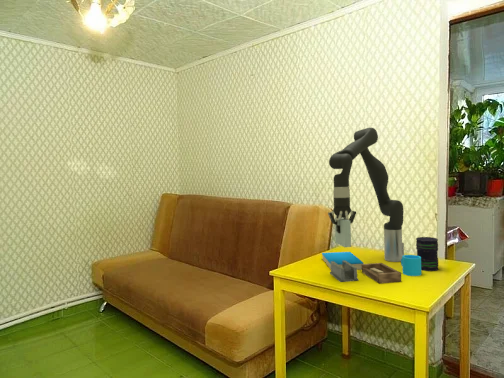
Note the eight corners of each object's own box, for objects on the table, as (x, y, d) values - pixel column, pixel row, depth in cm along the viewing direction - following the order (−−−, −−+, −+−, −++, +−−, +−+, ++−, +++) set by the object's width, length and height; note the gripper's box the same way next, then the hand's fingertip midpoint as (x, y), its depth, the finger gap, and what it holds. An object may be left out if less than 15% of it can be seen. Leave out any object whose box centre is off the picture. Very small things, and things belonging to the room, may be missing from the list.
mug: (425, 275, 166) (424, 257, 165) (409, 276, 164) (409, 259, 164) (408, 268, 178) (408, 252, 177) (394, 270, 176) (394, 253, 176)
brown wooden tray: (381, 270, 176) (381, 262, 175) (401, 281, 158) (401, 272, 158) (361, 272, 174) (361, 264, 174) (379, 283, 156) (378, 274, 156)
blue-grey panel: (341, 242, 173) (340, 217, 173) (351, 246, 161) (350, 220, 161) (335, 242, 173) (334, 218, 172) (344, 247, 161) (344, 221, 161)
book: (331, 264, 179) (321, 252, 204) (331, 272, 179) (321, 259, 204) (365, 262, 179) (350, 250, 204) (365, 270, 179) (351, 258, 204)
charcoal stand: (346, 272, 175) (346, 260, 175) (358, 280, 162) (357, 267, 161) (330, 273, 174) (329, 261, 174) (340, 282, 161) (340, 269, 160)
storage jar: (428, 265, 182) (428, 236, 182) (443, 269, 173) (442, 239, 172) (412, 267, 180) (411, 238, 179) (425, 272, 170) (425, 241, 170)
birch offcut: (374, 271, 169) (374, 267, 169) (383, 275, 163) (383, 271, 163) (369, 272, 169) (369, 268, 169) (379, 276, 162) (379, 272, 162)
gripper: (352, 195, 171) (353, 230, 172) (324, 196, 169) (325, 232, 170) (359, 196, 163) (360, 233, 164) (329, 197, 162) (331, 235, 162)
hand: (342, 232), depth 167 cm, fingers closed on blue-grey panel, 3 cm apart
